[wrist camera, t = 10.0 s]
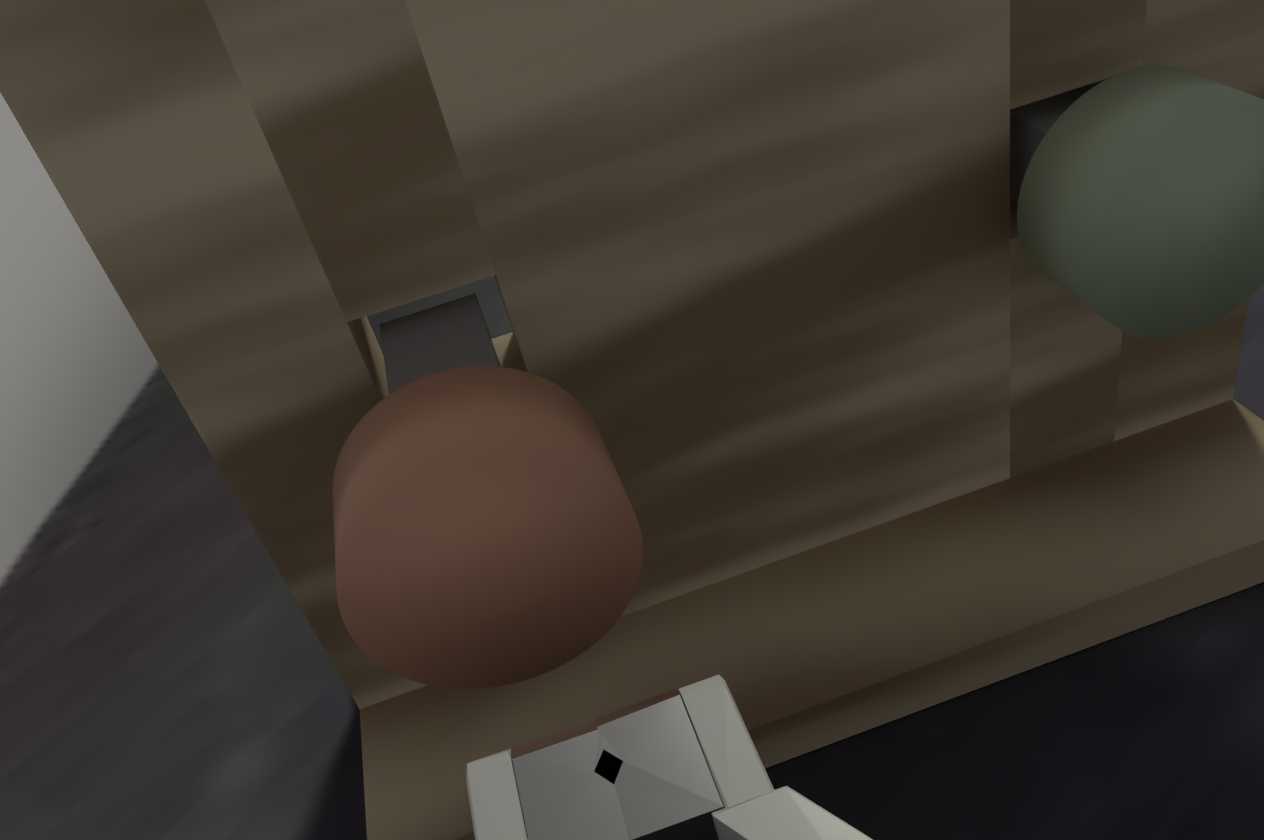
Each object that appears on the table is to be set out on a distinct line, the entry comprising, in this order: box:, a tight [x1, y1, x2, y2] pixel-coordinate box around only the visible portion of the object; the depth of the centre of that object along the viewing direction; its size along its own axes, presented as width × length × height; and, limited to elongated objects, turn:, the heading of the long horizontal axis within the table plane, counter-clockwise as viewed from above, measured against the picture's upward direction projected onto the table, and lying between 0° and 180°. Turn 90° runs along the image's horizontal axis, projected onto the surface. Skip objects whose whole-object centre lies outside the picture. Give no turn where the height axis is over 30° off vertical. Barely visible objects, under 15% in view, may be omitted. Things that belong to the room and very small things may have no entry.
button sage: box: [1010, 65, 1264, 339], centre depth 22 cm, size 7×5×5 cm, turn 15°
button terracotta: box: [332, 294, 643, 689], centre depth 19 cm, size 7×5×5 cm, turn 15°
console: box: [0, 0, 1264, 840], centre depth 22 cm, size 10×24×20 cm, turn 105°
